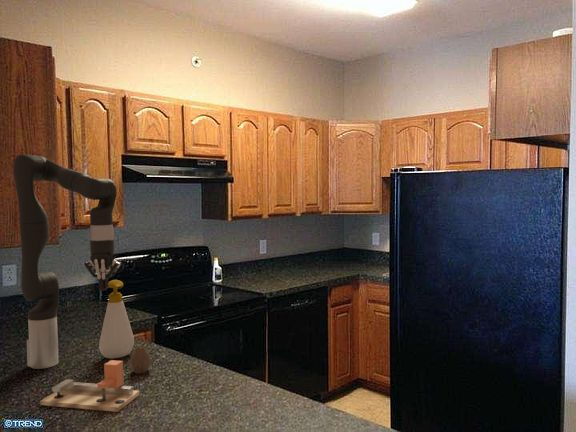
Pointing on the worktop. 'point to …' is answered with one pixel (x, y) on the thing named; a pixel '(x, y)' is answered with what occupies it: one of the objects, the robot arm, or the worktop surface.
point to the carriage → (112, 376)
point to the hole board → (89, 400)
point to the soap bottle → (116, 326)
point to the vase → (140, 360)
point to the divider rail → (90, 388)
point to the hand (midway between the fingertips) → (103, 289)
